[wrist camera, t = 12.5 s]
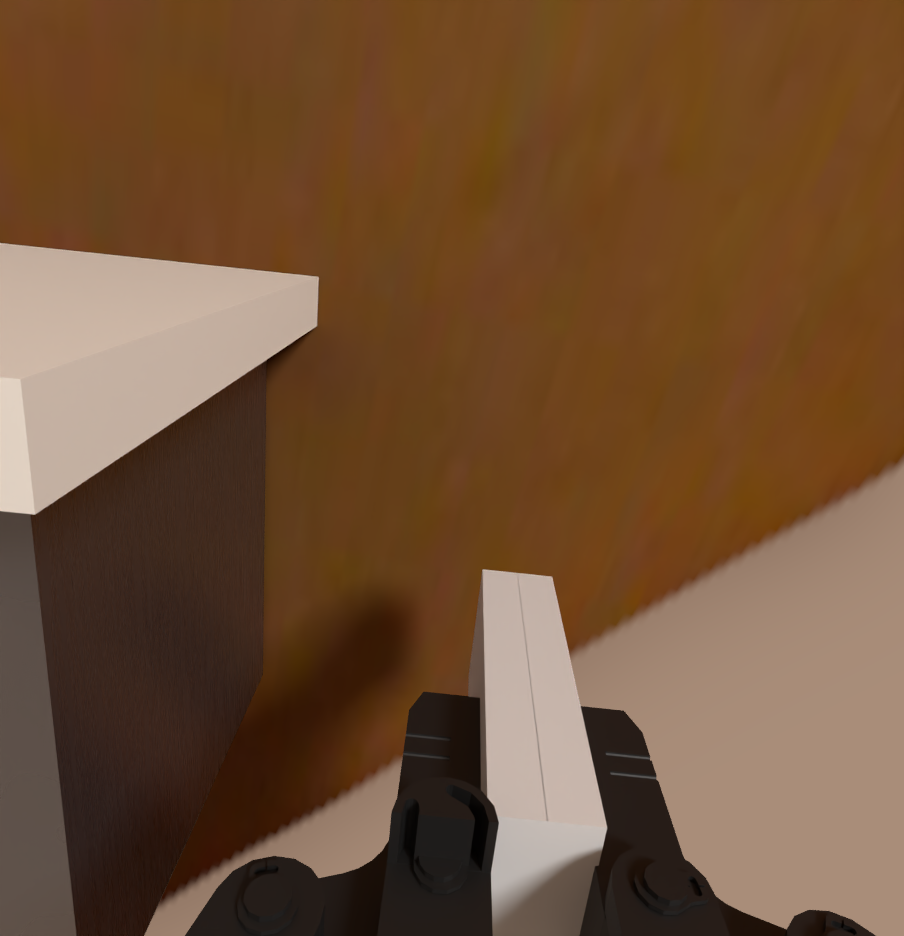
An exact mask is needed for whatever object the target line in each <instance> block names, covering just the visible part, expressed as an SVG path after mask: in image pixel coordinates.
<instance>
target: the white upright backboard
mask: <svg viewBox="0 0 904 936" xmlns="http://www.w3.org/2000/svg"><path fill="white" fill-rule="evenodd" d="M318 281H319V277H316V276H306V275H297V274H287V273H278V272H268V271H259V270H249V269H240V268H231V267H221V266H212V265H202V264H193V263H183V262H174V261H164V260H155V259H145V258H136V257H127V256H117V255H108V254H98V253H89V252H79V251H70V250H60V249H51V248H42V247H32V246H23V245H13V244H4V243H0V511H4V512H14V513H24V514H34V515H35V514H37V513H38V512H40V511H41V510H43V509H44V508H46V507H47V506H49V505H50V504H52V503H53V502H55V501H56V500H58V499H59V498H61V497H62V496H64V495H65V494H67V493H68V492H70V491H71V490H73V489H74V488H76V487H77V486H79V485H80V484H82V483H83V482H85V481H86V480H88V479H89V478H91V477H92V476H94V475H95V474H97V473H98V472H99V471H101V470H102V469H104V468H105V467H107V466H108V465H110V464H111V463H113V462H114V461H116V460H117V459H119V458H120V457H122V456H123V455H125V454H126V453H128V452H129V451H131V450H132V449H134V448H135V447H137V446H138V445H140V444H141V443H143V442H144V441H146V440H147V439H149V438H150V437H152V436H153V435H155V434H156V433H158V432H159V431H161V430H162V429H164V428H165V427H167V426H168V425H170V424H171V423H173V422H174V421H176V420H177V419H179V418H180V417H182V416H183V415H185V414H186V413H188V412H189V411H191V410H192V409H194V408H195V407H197V406H198V405H200V404H201V403H203V402H204V401H206V400H207V399H209V398H210V397H212V396H213V395H215V394H216V393H218V392H219V391H221V390H222V389H224V388H225V387H227V386H228V385H230V384H231V383H233V382H234V381H236V380H237V379H239V378H240V377H242V376H243V375H245V374H246V373H248V372H249V371H251V370H252V369H254V368H255V367H257V366H258V365H260V364H261V363H263V362H264V361H265V360H267V359H268V358H270V357H271V356H273V355H274V354H276V353H277V352H279V351H280V350H282V349H283V348H285V347H286V346H288V345H289V344H291V343H292V342H294V341H295V340H297V339H298V338H300V337H301V336H303V335H304V334H306V333H307V332H309V331H310V330H312V329H313V328H315V327H316V326H317V309H318Z"/></svg>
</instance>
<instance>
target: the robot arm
mask: <svg viewBox="0 0 904 936" xmlns="http://www.w3.org/2000/svg"><path fill="white" fill-rule="evenodd" d="M185 936H875V935H874V934H872V933H871V932H869V931H868V930H866V929H865V928H863V927H862V926H860V925H859V924H857V923H856V922H854V921H853V920H851V919H848V918H846V917H843V916H840V915H838V914H835V913H833V912H830V911H819V910H817V911H816V910H808V911H805V912H803V913H801V914H798V915H796V916H794V918H793V920H792V921H791V923H790V925H789V927H788V928H787V930H786V929H784V928H781V927H778V926H776V925H774V924H771V923H769V922H766V921H764V920H761V919H758V918H756V917H753V916H751V915H748V914H746V913H743V912H741V911H739V910H737V909H735V908H733V907H731V906H729V905H727V904H725V903H724V902H723V901H721V900H720V899H718V898H717V897H716V896H715V894H714V892H713V891H712V889H711V887H710V885H709V883H708V881H707V880H706V878H705V877H704V876H703V875H702V874H701V873H700V872H699V871H698V870H697V869H696V868H695V867H694V866H693V865H692V864H691V863H690V862H688V861H686V860H685V859H684V857H683V855H682V852H681V848H680V845H679V842H678V840H677V836H676V833H675V830H674V827H673V824H672V821H671V818H670V815H669V812H668V810H667V806H666V803H665V800H664V797H663V794H662V791H661V788H660V785H659V782H658V781H657V780H656V773H655V770H654V767H653V764H652V761H650V755H649V752H648V749H647V746H646V743H645V739H644V737H643V733H642V732H641V730H639V728H638V727H637V726H636V725H635V723H634V722H633V721H632V720H631V719H630V718H629V717H628V715H627V714H626V713H625V712H624V711H621V710H611V709H602V708H592V707H582V706H580V702H579V698H578V693H577V688H576V683H575V679H574V674H573V670H572V665H571V661H570V656H569V652H568V647H567V642H566V638H565V633H564V629H563V624H562V620H561V615H560V611H559V606H558V602H557V597H556V592H555V588H554V583H553V579H552V577H550V576H540V575H531V574H521V573H512V572H502V571H493V570H482V578H481V585H480V593H479V601H478V609H477V616H476V624H475V632H474V639H473V647H472V655H471V663H470V670H469V692H468V696H459V695H450V694H440V693H431V692H423V693H422V695H421V696H420V697H419V698H418V700H417V701H416V702H415V703H414V705H413V706H412V707H411V709H410V710H409V716H408V723H407V731H406V738H405V745H404V753H403V760H402V767H401V775H400V782H399V789H398V797H397V800H396V803H395V805H394V808H393V810H392V814H391V825H390V837H389V841H388V843H387V844H386V846H385V848H384V849H383V851H382V852H381V853H380V854H378V855H377V856H376V857H375V858H374V859H373V860H372V861H370V862H369V863H367V864H365V865H364V866H362V867H360V868H358V869H355V870H352V871H349V872H346V873H343V874H338V875H333V876H328V877H323V878H318V877H317V876H316V874H315V873H314V872H313V870H312V869H311V868H310V867H308V866H306V865H304V864H303V863H301V862H299V861H297V860H296V859H291V858H285V857H277V856H272V857H267V858H262V859H257V860H253V861H251V862H249V863H247V864H245V865H243V866H241V867H240V868H238V869H236V870H234V871H233V872H232V873H231V874H230V875H229V876H228V877H227V878H226V879H225V880H224V881H223V882H222V884H220V886H219V887H218V888H217V889H216V891H215V892H214V894H213V895H212V897H211V898H210V899H209V901H208V903H207V904H206V905H205V907H204V908H203V910H202V911H201V913H200V914H199V916H198V917H197V919H196V920H195V922H194V923H193V925H192V926H191V928H190V929H189V931H188V932H187V934H186V935H185Z"/></svg>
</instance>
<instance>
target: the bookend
mask: <svg viewBox="0 0 904 936" xmlns="http://www.w3.org/2000/svg"><path fill="white" fill-rule="evenodd" d="M265 437H266V360H265V361H264V362H263V363H261V364H260V365H258V366H257V367H255V368H254V369H252V370H251V371H249V372H248V373H246V374H245V375H243V376H242V377H240V378H239V379H237V380H236V381H234V382H233V383H231V384H230V385H228V386H227V387H225V388H224V389H222V390H221V391H219V392H218V393H216V394H215V395H213V396H212V397H210V398H209V399H207V400H206V401H204V402H203V403H201V404H200V405H198V406H197V407H195V408H194V409H192V410H191V411H189V412H188V413H186V414H185V415H183V416H182V417H180V418H179V419H177V420H176V421H174V422H173V423H171V424H170V425H168V426H167V427H165V428H164V429H162V430H161V431H159V432H158V433H156V434H155V435H153V436H152V437H150V438H149V439H147V440H146V441H144V442H143V443H141V444H140V445H138V446H137V447H135V448H134V449H132V450H131V451H129V452H128V453H126V454H125V455H123V456H122V457H120V458H119V459H117V460H116V461H114V462H113V463H111V464H110V465H108V466H107V467H105V468H104V469H102V470H101V471H99V472H98V473H97V474H95V475H94V476H92V477H91V478H89V479H88V480H86V481H85V482H83V483H82V484H80V485H79V486H77V487H76V488H74V489H73V490H71V491H70V492H68V493H67V494H65V495H64V496H62V497H61V498H59V499H58V500H56V501H55V502H53V503H52V504H50V505H49V506H47V507H46V508H44V509H43V510H41V511H40V512H38V513H37V514H35V515H34V514H24V513H14V512H4V511H0V936H144V935H145V932H146V930H147V928H148V926H149V923H150V921H151V919H152V917H153V915H154V913H155V910H156V908H157V906H158V904H159V902H160V899H161V897H162V895H163V893H164V891H165V888H166V886H167V884H168V882H169V880H170V877H171V875H172V873H173V871H174V869H175V866H176V864H177V862H178V860H179V858H180V855H181V853H182V851H183V849H184V847H185V844H186V842H187V840H188V838H189V836H190V833H191V831H192V829H193V827H194V825H195V822H196V820H197V818H198V816H199V814H200V811H201V809H202V807H203V805H204V803H205V800H206V798H207V796H208V794H209V792H210V789H211V787H212V785H213V783H214V781H215V778H216V776H217V774H218V772H219V770H220V767H221V765H222V763H223V761H224V759H225V756H226V754H227V752H228V750H229V748H230V745H231V743H232V741H233V739H234V737H235V734H236V732H237V730H238V728H239V726H240V723H241V721H242V719H243V717H244V715H245V712H246V710H247V708H248V706H249V704H250V701H251V699H252V697H253V695H254V693H255V690H256V688H257V686H258V684H259V682H260V679H261V677H262V675H263V602H264V519H265Z"/></svg>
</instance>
